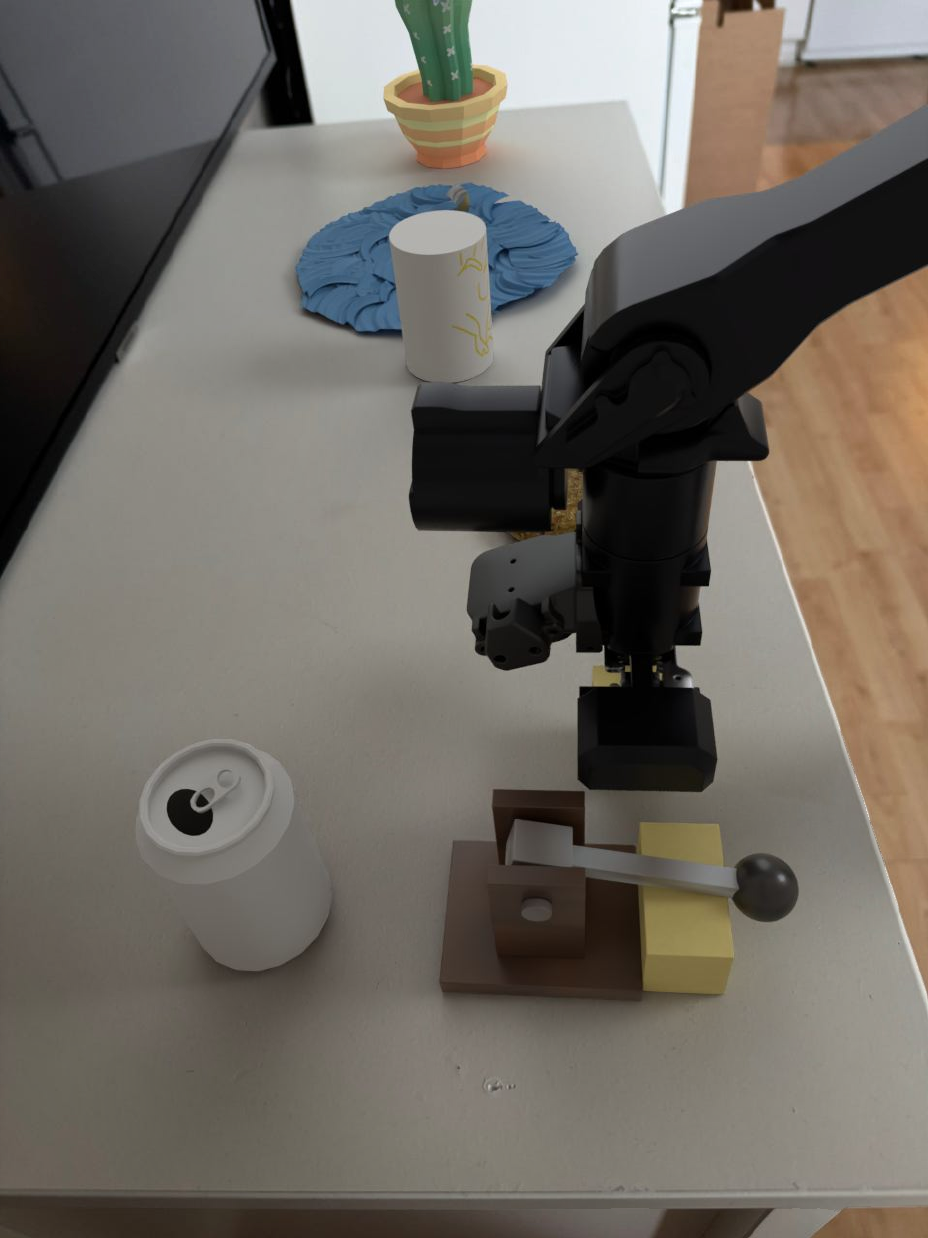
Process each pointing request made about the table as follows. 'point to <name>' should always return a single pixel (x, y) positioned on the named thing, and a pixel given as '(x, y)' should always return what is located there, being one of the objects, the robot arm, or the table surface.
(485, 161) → the table surface
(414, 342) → the cup
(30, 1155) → the table surface
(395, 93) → the potted cactus
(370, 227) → the decorative plate
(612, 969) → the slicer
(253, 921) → the can
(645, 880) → the blade
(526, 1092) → the table surface
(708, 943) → the butter
